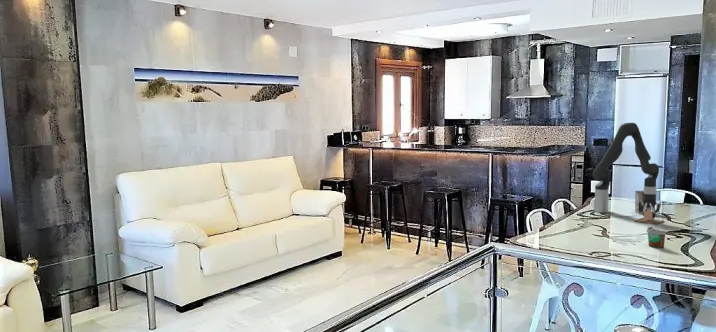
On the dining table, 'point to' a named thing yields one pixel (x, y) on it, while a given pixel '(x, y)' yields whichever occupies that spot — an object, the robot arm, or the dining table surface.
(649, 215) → the terracotta cube
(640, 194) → the coffee box
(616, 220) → the dining table surface
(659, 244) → the food container
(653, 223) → the walnut board
